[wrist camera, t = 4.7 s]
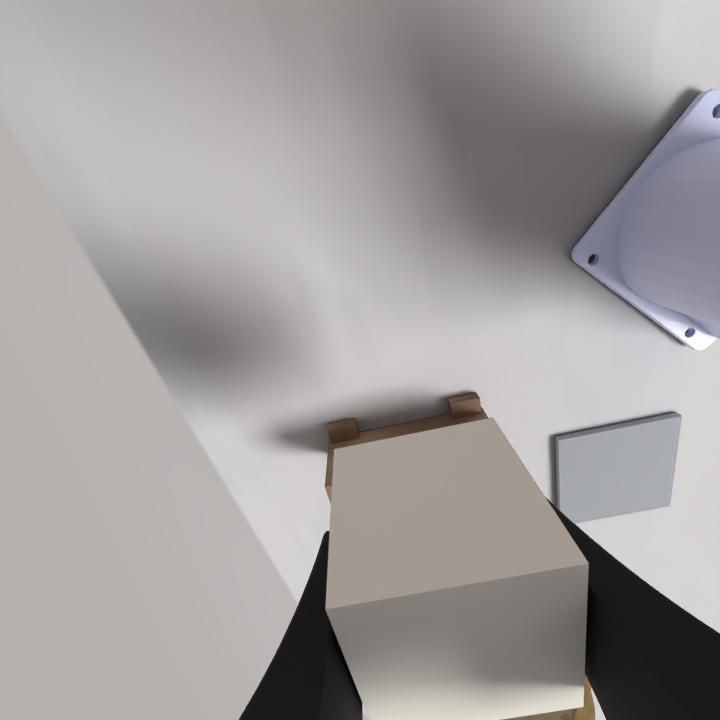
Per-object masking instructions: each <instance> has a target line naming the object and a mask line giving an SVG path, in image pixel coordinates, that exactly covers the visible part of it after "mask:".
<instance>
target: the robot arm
mask: <svg viewBox="0 0 720 720" xmlns="http://www.w3.org/2000/svg"><path fill="white" fill-rule="evenodd" d="M715 106H716V108H717V113H716V115H715V117H713V115H712V112H713V109H714V107H715ZM592 254H594V260H593V262H591V263H588V259H589V257H590V256H591V255H592ZM571 256H572V259H573V261H574V262H575V263H577V264H578V265H579V266H581V267H582V268H583V269H585V270H586V271H587V272H589V273H590V274H591V275H593V276H594V277H595V278H597V279H598V280H599V281H601V282H602V283H603V284H605V285H606V286H607V287H609V288H610V289H611V290H613V291H614V292H615V293H617V294H618V295H620V296H621V297H622V298H624V299H625V300H626V301H628V302H629V303H630V304H632V305H633V306H634V307H636V308H637V309H638V310H640V311H641V312H642V313H644V314H645V315H646V316H648V317H649V318H650V319H652V320H653V321H654V322H656V323H657V324H658V325H660V326H661V327H662V328H664V329H665V330H666V331H668V332H669V333H670V334H672V335H673V336H674V337H676V338H677V339H678V340H680V341H681V342H682V343H684V344H685V345H686V346H688V347H689V348H691V349H694V350H696V351H701V350H704V349H705V348H707V347H708V346H709V345H710V344H711V343H712V342H713V341H715V340H716V339H717V338H719V339H720V90H718V89H710V90H707V91H704V92H702V93H700V94H699V95H698V96H697V97H696V98H695V99H694V101H693V102H692V103H691V104H690V106H689V107H688V108H687V109H686V110H685V112H684V113H683V114H682V115H681V117H680V118H679V119H678V120H677V122H676V123H675V124H674V125H673V126H672V128H671V129H670V130H669V131H668V133H667V134H666V135H665V136H664V138H663V139H662V140H661V141H660V142H659V144H658V145H657V146H656V147H655V149H654V150H653V151H652V152H651V154H650V155H649V156H648V157H647V158H646V160H645V161H644V162H643V163H642V165H641V166H640V167H639V168H638V170H637V171H636V172H635V173H634V174H633V176H632V177H631V178H630V179H629V181H628V182H627V183H626V184H625V186H624V187H623V188H622V189H621V190H620V192H619V193H618V194H617V195H616V197H615V198H614V199H613V200H612V202H611V203H610V204H609V205H608V206H607V208H606V209H605V210H604V211H603V213H602V214H601V215H600V216H599V218H598V219H597V220H596V221H595V222H594V224H593V225H592V226H591V227H590V229H589V230H588V231H587V232H586V234H585V235H584V236H583V237H582V238H581V240H580V241H579V242H578V243H577V245H576V246H575V247H574V249H573V251H572V255H571ZM688 329H689V331H688V332H687V333H686V334H685V332H686V331H687V330H688ZM545 498H546V497H545ZM546 499H547V498H546ZM547 501H548V502H549V504H550V505H551V507H552V508H553V510H554V511H555V513H556V514H557V516H558V517H559V519H560V520H561V522H562V523H563V525H564V526H565V528H566V530H567V531H568V533H569V534H570V536H571V537H572V539H573V540H574V542H575V543H576V545H577V546H578V548H579V549H580V551H581V552H582V554H583V555H584V557H585V558H586V560H587V561H588V563H589V569H588V597H587V624H586V651H585V675H586V677H587V679H588V681H589V683H590V685H591V687H592V689H593V691H594V693H595V695H596V697H597V700H598V702H599V704H600V706H601V709H602V711H603V713H604V715H605V718H606V720H720V633H718V632H717V631H715V630H714V629H712V628H711V627H709V626H708V625H706V624H705V623H703V622H702V621H700V620H698V619H697V618H696V617H694V616H693V615H691V614H690V613H688V612H687V611H685V610H684V609H682V608H681V607H680V606H678V605H677V604H675V603H674V602H672V601H671V600H670V599H668V598H667V597H665V596H664V595H663V594H661V593H660V592H659V591H657V590H656V589H654V588H653V587H652V586H650V585H649V584H648V583H646V582H645V581H644V580H642V579H641V578H640V577H639V576H637V575H636V574H635V573H633V572H632V571H631V570H629V569H628V568H627V567H626V566H624V565H623V564H622V563H621V562H619V561H618V560H617V559H616V558H614V557H613V556H612V555H611V554H609V553H608V552H607V551H606V550H605V549H603V548H602V547H601V546H600V545H599V544H597V543H596V542H595V541H594V540H593V539H591V538H590V537H589V536H588V535H587V534H586V533H584V532H583V531H582V530H581V529H580V528H579V527H578V526H576V525H575V524H574V523H573V522H572V521H571V520H570V519H569V518H568V517H566V516H565V515H564V514H563V513H562V512H561V511H560V510H559V509H558V508H557V507H556V506H554V505H553V504H552V503H551V502H550V501H549V500H548V499H547ZM329 534H330V531H326V533H325V534H324V536H323V539H322V542H321V546H320V549H319V552H318V555H317V558H316V561H315V563H314V566H313V569H312V572H311V574H310V577H309V580H308V582H307V584H306V587H305V589H304V592H303V594H302V597H301V599H300V602H299V604H298V607H297V609H296V611H295V613H294V616H293V618H292V620H291V622H290V624H289V626H288V629H287V631H286V633H285V635H284V637H283V640H282V642H281V644H280V646H279V648H278V650H277V652H276V654H275V656H274V658H273V660H272V662H271V663H270V665H269V667H268V669H267V671H266V673H265V675H264V677H263V678H262V680H261V682H260V684H259V686H258V688H257V689H256V691H255V693H254V694H253V696H252V698H251V700H250V701H249V703H248V705H247V706H246V708H245V710H244V712H243V713H242V715H241V717H240V719H239V720H362V700H361V698H360V695H359V693H358V690H357V688H356V685H355V683H354V680H353V678H352V675H351V673H350V670H349V668H348V665H347V663H346V660H345V658H344V655H343V652H342V650H341V647H340V645H339V642H338V640H337V637H336V635H335V632H334V630H333V627H332V625H331V622H330V620H329V617H328V615H327V612H326V610H325V608H326V589H327V571H328V552H329Z"/></svg>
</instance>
